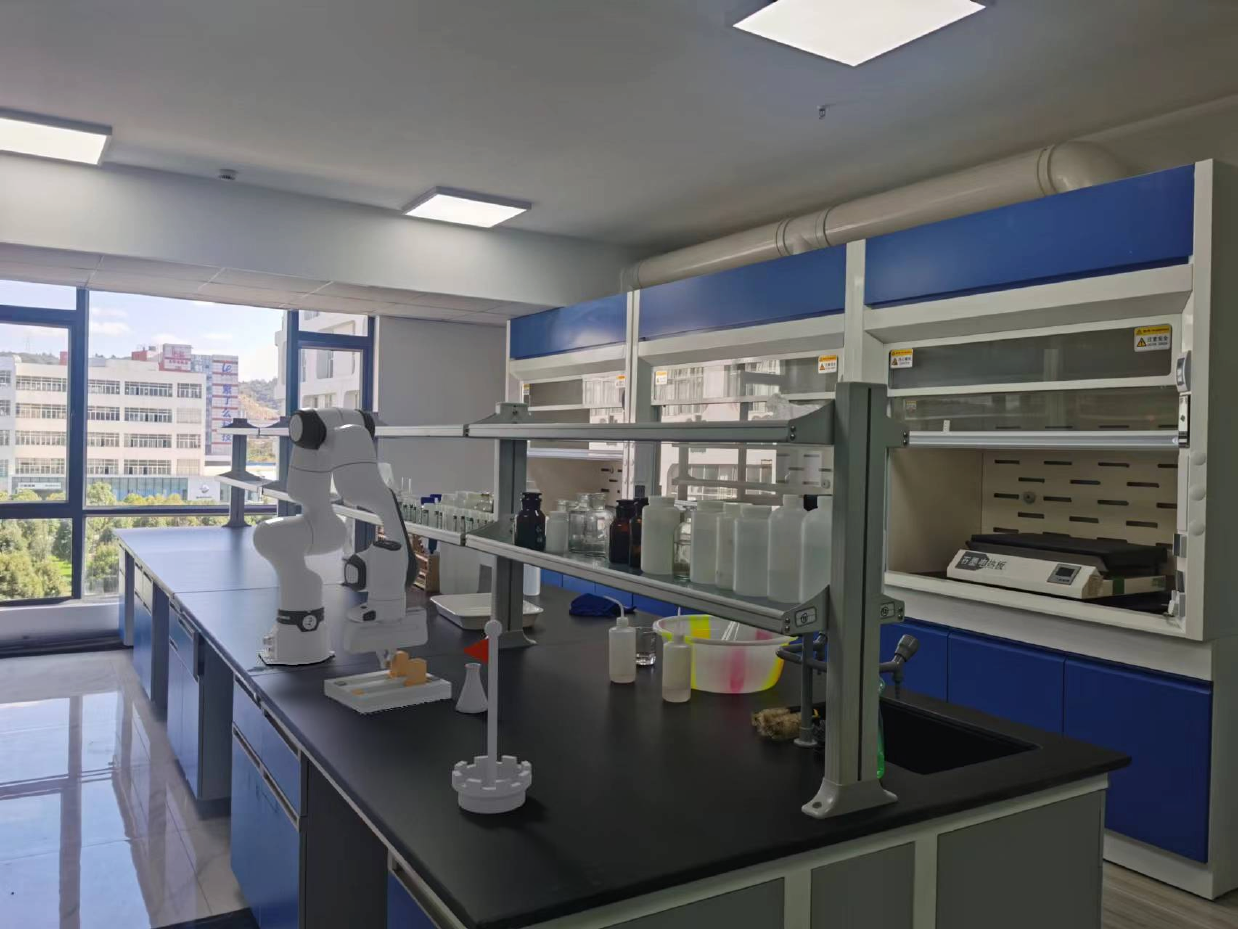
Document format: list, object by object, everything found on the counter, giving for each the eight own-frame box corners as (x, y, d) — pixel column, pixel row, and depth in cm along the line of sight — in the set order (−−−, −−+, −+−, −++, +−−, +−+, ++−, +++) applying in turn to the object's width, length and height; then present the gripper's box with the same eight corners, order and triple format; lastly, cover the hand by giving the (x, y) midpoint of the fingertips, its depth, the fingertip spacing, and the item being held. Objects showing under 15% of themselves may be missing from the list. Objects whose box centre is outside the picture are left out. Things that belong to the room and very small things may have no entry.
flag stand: (533, 785, 160) (535, 613, 159) (528, 816, 147) (530, 628, 146) (457, 785, 160) (459, 612, 159) (446, 816, 147) (447, 627, 146)
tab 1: (387, 680, 222) (387, 652, 221) (402, 678, 224) (403, 650, 224) (395, 683, 219) (395, 655, 219) (410, 681, 221) (410, 653, 221)
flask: (470, 703, 210) (470, 659, 210) (495, 708, 207) (496, 663, 206) (449, 710, 204) (449, 665, 204) (474, 716, 200) (475, 670, 200)
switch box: (324, 695, 215) (324, 678, 215) (410, 680, 229) (410, 665, 229) (361, 714, 200) (361, 697, 200) (451, 697, 214) (451, 681, 214)
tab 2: (404, 688, 215) (404, 659, 215) (420, 685, 217) (420, 657, 217) (412, 692, 212) (412, 663, 212) (428, 689, 214) (428, 660, 214)
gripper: (420, 603, 228) (419, 659, 228) (340, 612, 215) (340, 671, 215) (432, 607, 223) (432, 664, 223) (351, 616, 210) (351, 676, 210)
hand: (386, 667), depth 219 cm, fingers closed
